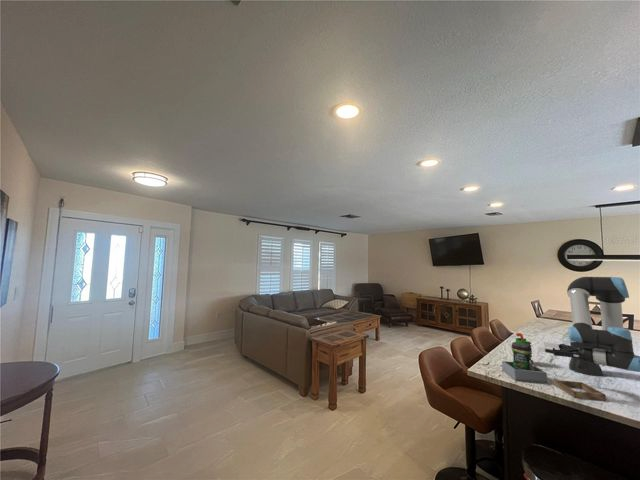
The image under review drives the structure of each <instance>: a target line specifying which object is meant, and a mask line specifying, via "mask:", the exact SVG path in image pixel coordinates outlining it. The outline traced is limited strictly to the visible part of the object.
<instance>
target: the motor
mask: <svg viewBox="0 0 640 480" xmlns="http://www.w3.org/2000/svg"><path fill="white" fill-rule="evenodd" d="M515 333H516V337H517V338H515V342H518V343H523V344H528V345H530V346H531V350H532V345H531V344H532V342H530V341H527V338H524V335H523V334H522V333H520V332H515ZM532 353H533V352H532ZM532 353H531V358H532V357H533V355H532ZM531 362H532V364H533V365H534V361H533V360H532V359H531Z"/></svg>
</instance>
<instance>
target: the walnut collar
mask: <svg viewBox="0 0 640 480" xmlns="http://www.w3.org/2000/svg"><path fill="white" fill-rule="evenodd" d="M553 383H554V386H555V387H556V388H558V389H560V390H561V391H563V392H565V393H566V394H568V395H569V396H571V397H573V398H574V399H579V400H580V399H584V400H591V401H601V402H606V401H607V397H606V394H605V393H603V392H602V391H600V390H597V389H595V388H593V387H592V386H590V385H588V384H586V383H584V382H582V381H574V380H573V381H572V380H563V379H562V380H561V379H554V380H553ZM573 388H574V389H581V390H584V391H580V390H574V389H573Z"/></svg>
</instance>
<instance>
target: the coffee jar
mask: <svg viewBox="0 0 640 480" xmlns="http://www.w3.org/2000/svg"><path fill="white" fill-rule="evenodd" d="M530 345H531V344H530ZM530 345H528V344H523V343H518V342H516V341H514V342H512V343H511V351H512V354H513V357H512V358H513V359H512V360H513V361H512V362H513V368H514V369H517V370H529V371H533V368H532V362H531V360H532V357H531V355H532V354H531V353H533V350H532V349H531V348H532V345H531V346H530Z"/></svg>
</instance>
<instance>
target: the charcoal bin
mask: <svg viewBox="0 0 640 480" xmlns="http://www.w3.org/2000/svg"><path fill="white" fill-rule="evenodd" d="M532 368H533V371H529V370H517V369H514V368H513V361H507V360H501V369H502V370H501V371H502V372H504V373H505V374H506V375H508V376H509V377H510V378H511V379H513V380H514V381H515V382H527V383H536V384H548V373H547V372H546V370H545V371H544V370H543V369H541V368H540V367H537V366H536V365H534V363H533V364H532Z"/></svg>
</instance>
